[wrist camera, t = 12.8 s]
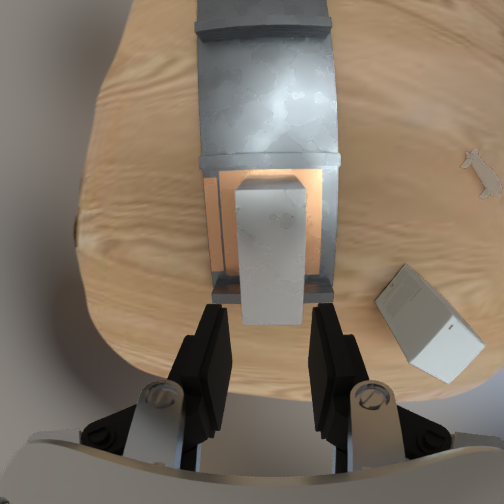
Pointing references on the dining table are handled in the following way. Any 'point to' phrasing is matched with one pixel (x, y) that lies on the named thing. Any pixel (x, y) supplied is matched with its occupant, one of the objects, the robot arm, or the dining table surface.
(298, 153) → the slot rack
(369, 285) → the dining table surface
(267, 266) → the panel
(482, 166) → the car cutout
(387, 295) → the small box
